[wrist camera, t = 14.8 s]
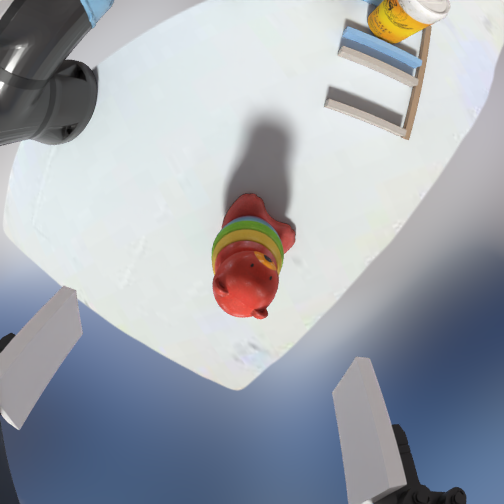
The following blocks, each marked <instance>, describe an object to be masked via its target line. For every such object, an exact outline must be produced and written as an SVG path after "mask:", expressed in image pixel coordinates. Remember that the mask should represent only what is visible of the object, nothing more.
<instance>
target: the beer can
mask: <svg viewBox="0 0 504 504" xmlns="http://www.w3.org/2000/svg"><path fill="white" fill-rule="evenodd" d="M449 10H450V1H449V0H384V1H383V2H382V3H381V4H380V5H379V6H378V7H377V8H376V9H375V10H374V11H373V12H372V13H371V14H370V15H369V17H368V25H369V28H370V30H371V31H372V33H373V34H374V35H375V36H376V37H377V38H379V39H381V40H383V41H385V42H387V43H391V44H395V43H398V42H400V41H402V40H404V39H406V38H407V37H409V36H411V35H413V34H415V33H417V32H418V31H420V30H422V29H424V28H426V27H428V26H430V25H432V24H434V23H436V22H438V21H440V20H442V19H444V18H445V17H446V16H447V14H448V12H449Z"/></svg>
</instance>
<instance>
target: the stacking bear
mask: <svg viewBox="0 0 504 504" xmlns="http://www.w3.org/2000/svg"><path fill="white" fill-rule="evenodd" d="M294 243H295V231H294V230H292V229H291V226H290V225H288V224H285V223H281V222H278V221H276V220H274V219H273V218H272V217H271V216H270V215H269V214H268V213H267V211H266V209H265V206H264V202H263V200H262V199H261V198H260V197H257V195H256V194H243V195H242V196H240V197H239V198H238V199H237V200H236V201H235V202H234V203H233V205H232V206H231V207H230V209H229V210H228V212H227V214H226V216H225V218H224V221H223V224H222V229H221V231H220V232H219V233H218V235H217V237H216V239H215V241H214V243H213V247H212V267H213V272H214V275H215V276H214V279H213V293H214V297H215V299H216V301H217V303H218V304H219V306H220V307H221V308H222V309H223V310H224V311H225V312H226V313H228V314H230V315H232V316H235V317H251V316H254V317H255V318H257V319H264V318H266V317H267V316H268V312H267V310H266V308H267V307H268V306H269V304H270V303H271V302H272V300H273V299H274V297H275V294H276V292H277V289H278V283H279V273H280V271H281V268H282V264H283V258H284V254H285V253H286V252H287V251H288V250H289V249H290V248H291V247H292V246H293V244H294Z"/></svg>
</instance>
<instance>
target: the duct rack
mask: <svg viewBox="0 0 504 504" xmlns="http://www.w3.org/2000/svg"><path fill="white" fill-rule="evenodd" d="M363 1H366V2H368V3H370V4H373V5H375V6H379V5H380V4H381V3H382V2H383V1H384V0H363ZM431 27H432V26H428V27H426V28H424V29H423V34H422V41H421V47H420V53H419V58H417V57H415V56H413V55H411V54H409V53H407V52H406V51H404V50H402V49H400V48H398V47H396V46H393V45H391V44H389V43H387V42H385V41H383V40H381V39H378V38H376V37H374V36H371V35H369V34H367V33H364V32H362V31H359V30H357V29H354V28H351V27H349V26H348V27H347V28H346V29H345V30H344V32H343V36H342V37H345V38H347V39H350V40H353V41H355V42H358V43H360V44H363V45H365V46H368V47H370V48H373V49H375V50H377V51H379V52H382V53H384V54H386V55H388V56H390V57H392V58H395V59H397V60H399V61H401V62H403V63H405V64H407V65H409V66H410V67H412V68H416V67H417V70H416V75H415V77H413V76H411V75H409V74H407V73H405V72H403V71H401V70H399V69H397V68H395V67H393V66H391V65H389V64H387V63H385V62H382V61H380V60H378V59H376V58H373V57H371V56H369V55H366V54H364V53H361V52H359V51H356V50H354V49H351V48H348V47H346V46H342V47H341V48H340V50H339V52H338V56H340V57H343V58H345V59H348V60H351V61H353V62H356V63H359V64H361V65H364V66H366V67H368V68H371V69H373V70H375V71H378V72H380V73H382V74H385V75H387V76H389V77H391V78H393V79H395V80H397V81H399V82H401V83H403V84H405V85H407V86H409V87H412V86H413V89H412V94H411V98H410V103H409V107H408V111H407V115H406V119H405V123H404V127H403V128H401V127H399V126H397V125H395V124H392V123H390V122H388V121H386V120H383V119H381V118H379V117H376V116H374V115H372V114H369V113H367V112H364V111H362V110H359V109H356V108H354V107H351V106H348V105H346V104H343V103H340V102H337V101H334V100H332V99H328V100H326V102H325V105H324V107H326V108H329V109H332V110H335V111H338V112H340V113H343V114H346V115H349V116H351V117H354V118H357V119H359V120H362V121H364V122H367V123H369V124H372V125H374V126H377V127H379V128H382V129H384V130H386V131H388V132H391V133H393V134H395V135H397V136H401V137H402V138H404V139H406V140H409V138H410V134H411V130H412V126H413V123H414V119H415V115H416V110H417V106H418V102H419V97H420V93H421V88H422V83H423V78H424V73H425V68H426V62H427V56H428V49H429V42H430V35H431Z"/></svg>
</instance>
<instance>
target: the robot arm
mask: <svg viewBox="0 0 504 504" xmlns="http://www.w3.org/2000/svg"><path fill="white" fill-rule="evenodd" d="M113 2H114V0H0V146H2V145H6V144H10V143H14V142H18V141H23V140H27V139H31V140H35V141H38V142H41V143H44V144H47V145H57V144H63V143H67V142H69V141H71V140H73V139H74V138H76V137H77V136H78V135H79V134H80V133H81V132H82V131H83V130H84V128H85V127H86V125H87V124H88V122H89V120H90V118H91V116H92V114H93V111H94V108H95V104H96V98H97V85H96V80H95V76H94V74H93V72H92V70H91V69H90V68H89V67H88V66H87V65H86V64H84V63H82V62H79V61H75V60H65V59H66V58H67V56H68V55H69V54H70V53H71V52H72V50H73V49H74V48H75V47H76V45H77V44H78V43H79V42H80V41H81V40H82V38H83V37H84V36H85V35H86V34H87V33H88V32H89V31H90V30H91V29H92V28H94V27H95V26H96V23H97V22H98V20H99V19H100V18H101V17H102V16H103V15H104V14H105V13H106V12H107V11H108V10H109V9H110V7H111V6H112V4H113ZM82 334H83V333H82V326H81V321H80V315H79V309H78V301H77V293H76V290H74V289H71V288H69V287H66V286H63V287H62V288H61V289H60V290H59V291H58V292H57V293H56V294H55V295H54V296H53V297H52V298H51V299H50V300H49V301H48V302H47V303H46V304H45V305H44V306H43V307H42V308H41V309H40V310H39V311H38V312H37V313H36V314H35V315H34V316H33V317H32V319H30V321H29V322H28V323H27V324H26V325H25V326H24V327H23V328H22V329H21V330H20V332H19V333H18V334H17V335H15V334H13V333H10V334H8V335H6V336H4V337H3V338H2V339H1V340H0V415H2V416H3V417H4V419H5V420H6V421H7V422H8V423H10V424H11V425H12V426H14V427H15V428H17V429H18V430H20V428H21V427H22V425H23V423H24V421H25V420H26V418H27V416H28V415H29V413H30V411H31V409H32V408H33V406H34V405H35V403H36V402H37V400H38V398H39V397H40V395H41V394H42V392H43V390H44V389H45V387H46V386H47V384H48V383H49V381H50V380H51V378H52V377H53V375H54V374H55V372H56V371H57V369H58V368H59V366H60V365H61V363H62V362H63V361H64V359H65V358H66V356H67V355H68V353H69V352H70V351H71V349H72V348H73V346H74V345H75V344H76V342H77V341H78V340H79V338H80V337H81V335H82ZM332 395H333V400H334V406H335V412H336V418H337V424H338V430H339V436H340V443H341V449H342V456H343V463H344V470H345V478H346V486H347V494H348V503H349V504H373V503H374V504H466V494H465V492H464V491H463V490H462V489H461V488H459V487H454V488H452V489H450V490H449V491H447V492H433V491H430V490H429V489H428V488H427V487H426V486H425V485H421V484H420V482H419V480H418V476H417V472H416V469H415V465H414V461H413V458H412V454H411V453H410V448H409V445H408V440H407V437H406V434H405V432H404V431H403V430H402V428H401V427H400V425H399V424H394V425H391V422H390V418H389V415H388V412H387V409H386V405H385V402H384V399H383V396H382V394H381V390H380V387H379V384H378V381H377V378H376V375H375V372H374V369H373V366H372V363H371V360H370V358H362V357H355V359H354V361H353V362H352V364H351V365H350V367H349V368H348V370H347V371H346V373H345V375H344V376H343V378H342V379H341V381H340V382H339V383H338V385H337V386H336V388H335V389H334V391H333V392H332ZM0 504H20V503H19V500H18V497H17V493H16V490H15V487H14V484H13V480H12V477H11V473H10V469H9V465H8V460H7V456H6V451H5V446H4V440H3V435H2V429H1V422H0Z"/></svg>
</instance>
